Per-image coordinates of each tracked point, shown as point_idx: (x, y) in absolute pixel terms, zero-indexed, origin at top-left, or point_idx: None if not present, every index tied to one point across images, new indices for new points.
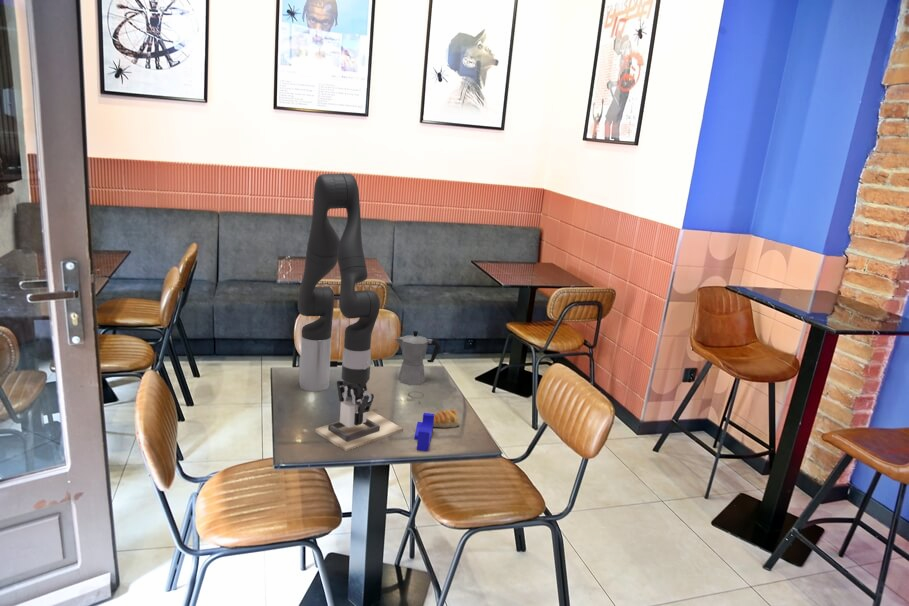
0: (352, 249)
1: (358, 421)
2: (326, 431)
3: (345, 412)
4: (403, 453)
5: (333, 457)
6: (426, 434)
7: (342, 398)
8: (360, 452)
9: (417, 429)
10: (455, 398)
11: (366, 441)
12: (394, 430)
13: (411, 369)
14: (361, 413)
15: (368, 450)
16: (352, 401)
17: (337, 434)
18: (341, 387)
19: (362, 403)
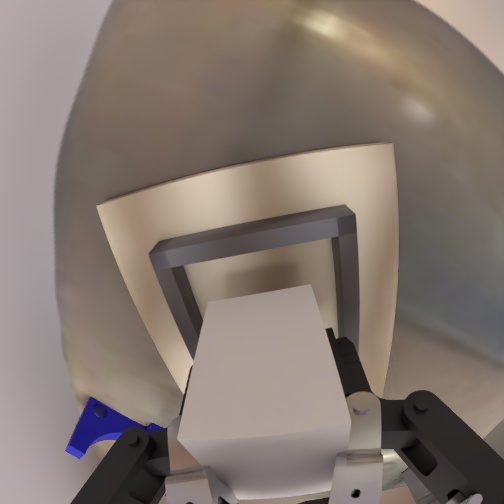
0: None
1: (189, 375)
2: (331, 185)
3: (249, 369)
4: (78, 369)
5: (80, 128)
6: (68, 444)
7: (411, 429)
8: (92, 260)
9: None
10: (315, 497)
11: (144, 321)
12: None
13: (424, 489)
14: (127, 430)
15: (102, 296)
16: (298, 472)
17: (249, 224)
18: (467, 493)
19: (103, 499)
